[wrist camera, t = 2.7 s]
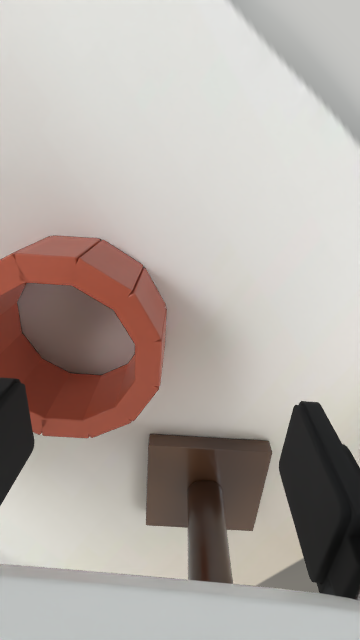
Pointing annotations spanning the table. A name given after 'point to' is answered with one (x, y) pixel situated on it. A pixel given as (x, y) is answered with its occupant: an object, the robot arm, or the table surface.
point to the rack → (206, 494)
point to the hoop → (83, 389)
